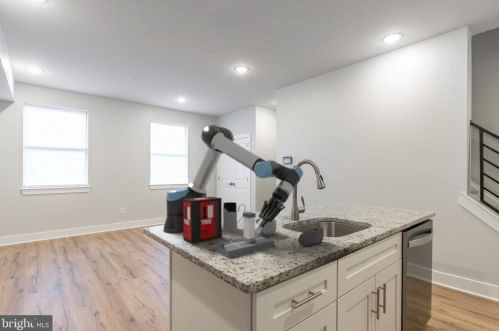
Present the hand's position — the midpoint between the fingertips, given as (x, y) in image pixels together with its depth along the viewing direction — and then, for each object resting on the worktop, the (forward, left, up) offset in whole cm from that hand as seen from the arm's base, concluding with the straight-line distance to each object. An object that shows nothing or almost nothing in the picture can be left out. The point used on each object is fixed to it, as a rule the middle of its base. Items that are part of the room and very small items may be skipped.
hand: (255, 232), depth 110 cm
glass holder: (-33, +9, -7) cm, 35 cm away
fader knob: (-1, -3, -4) cm, 5 cm away
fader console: (-1, -5, -6) cm, 8 cm away
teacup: (-14, +18, -7) cm, 24 cm away
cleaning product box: (-25, -14, -7) cm, 30 cm away
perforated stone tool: (+13, +22, -7) cm, 26 cm away
